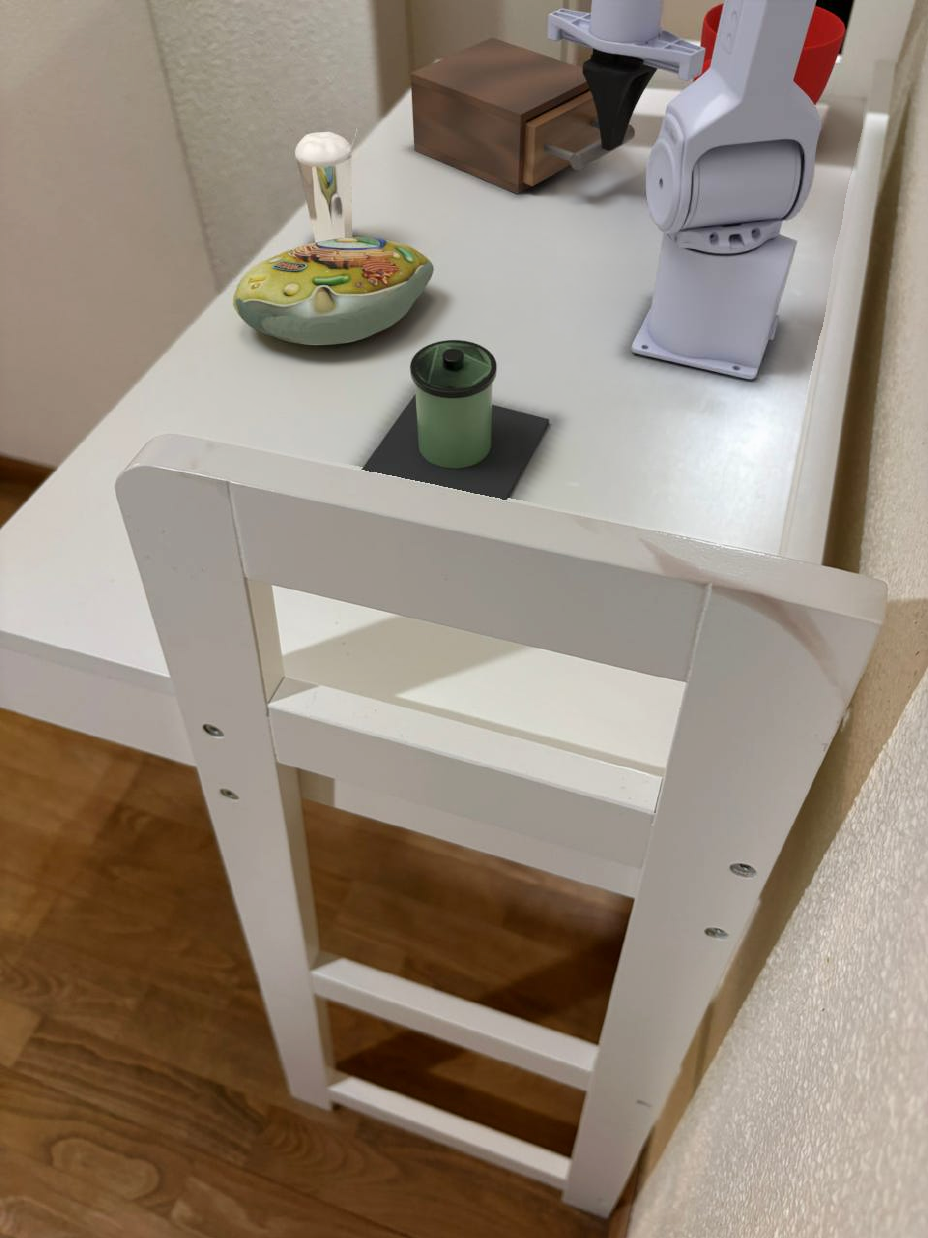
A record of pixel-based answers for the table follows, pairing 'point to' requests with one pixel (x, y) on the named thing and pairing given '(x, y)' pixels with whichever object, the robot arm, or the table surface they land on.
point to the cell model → (332, 290)
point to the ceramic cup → (814, 55)
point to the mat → (488, 477)
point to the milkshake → (327, 183)
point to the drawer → (564, 139)
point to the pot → (454, 402)
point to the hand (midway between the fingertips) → (611, 145)
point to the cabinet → (487, 107)
